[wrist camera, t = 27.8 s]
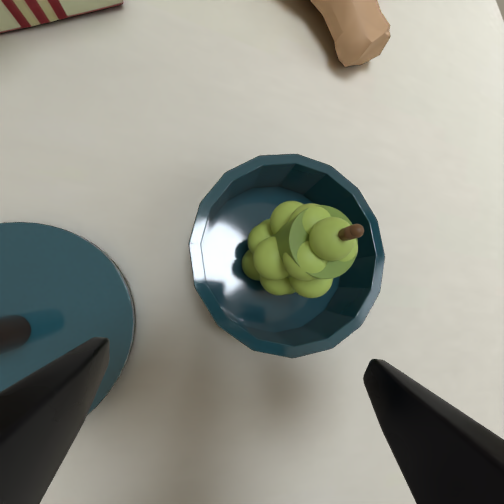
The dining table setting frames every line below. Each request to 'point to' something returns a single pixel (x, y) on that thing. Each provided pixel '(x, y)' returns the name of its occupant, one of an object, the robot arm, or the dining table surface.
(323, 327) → the teal round bowl
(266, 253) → the grapes
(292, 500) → the dining table surface
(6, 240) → the lid
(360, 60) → the squash
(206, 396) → the dining table surface
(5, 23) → the gift box
